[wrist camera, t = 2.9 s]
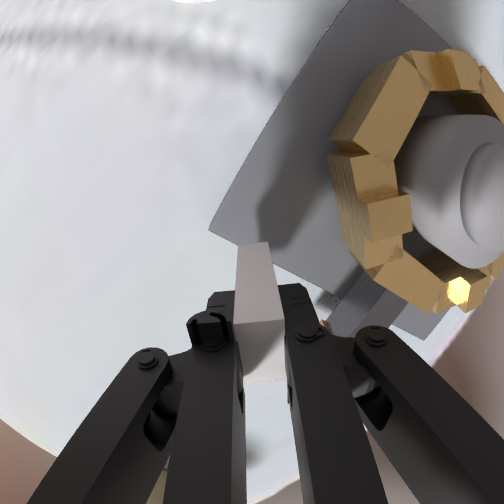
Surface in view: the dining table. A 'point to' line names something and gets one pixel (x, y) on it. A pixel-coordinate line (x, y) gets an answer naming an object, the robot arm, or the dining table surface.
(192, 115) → the dining table surface
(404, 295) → the ring nut
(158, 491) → the plant pot
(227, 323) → the robot arm
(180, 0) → the can
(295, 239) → the base
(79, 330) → the dining table surface
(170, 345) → the dining table surface
